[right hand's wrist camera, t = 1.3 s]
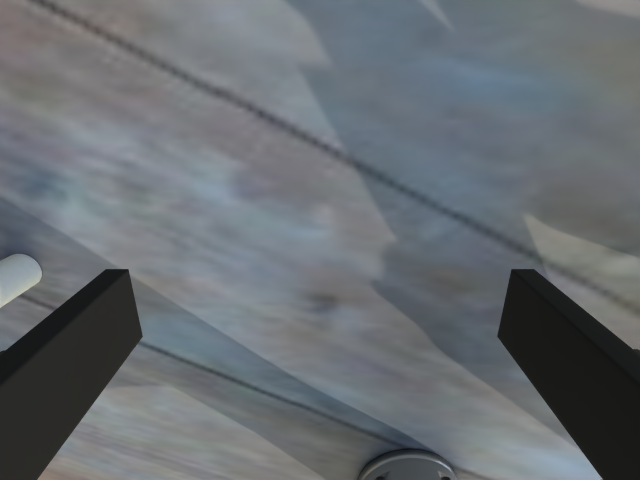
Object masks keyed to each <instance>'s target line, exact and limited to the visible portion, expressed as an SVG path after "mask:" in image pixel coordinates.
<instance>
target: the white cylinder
mask: <svg viewBox="0 0 640 480" xmlns="http://www.w3.org/2000/svg"><path fill="white" fill-rule="evenodd" d="M41 277H42V270H41V268H40V266H39V264H38V263H37V262H36V261H35V260H34V259H33V258H31V257H29V256H27V255H24V254H13V255H11V256H9V257H7V258H5V259H3V260H1V261H0V308H1V307H2V306H4V305H5V304H7V303H8V302H10V301H11V300H13V299H14V298H16V297H17V296H19V295H20V294H22V293H23V292H25V291H26V290H28V289H29V288H31V287H32V286H34V285H35V284H37V283H38V282H39V281H40V280H41Z"/></svg>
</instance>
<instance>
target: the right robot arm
mask: <svg viewBox="0 0 640 480" xmlns="http://www.w3.org/2000/svg"><path fill="white" fill-rule="evenodd" d="M142 337H143V336H142V331H141V326H140V322H139V317H138V312H137V308H136V303H135V298H134V293H133V289H132V284H131V279H130V275H129V270H128V269H106V270H105V271H103V272H102V273H101V274H100V275H98V276H97V277H96V278H95V279H93V280H92V281H91V282H90V283H88V284H87V285H86V286H85V287H84V288H82V289H81V290H80V291H79V292H77V293H76V294H75V295H74V296H72V297H71V298H70V299H69V300H67V301H66V302H65V303H64V304H63V305H61V306H60V307H59V308H58V309H56V310H55V311H54V312H53V313H51V314H50V315H49V316H48V317H46V318H45V319H44V320H43V321H42V322H40V323H39V324H38V325H37V326H35V327H34V328H33V329H32V330H30V331H29V332H28V333H27V334H26V335H24V336H23V337H22V338H21V339H19V340H18V341H17V342H16V343H14V344H13V345H12V346H11V347H9V348H8V349H7V350H6V351H1V352H0V480H37V479H38V478H39V476H40V475H41V474H42V472H43V471H44V470H45V468H46V467H47V465H48V464H49V463H50V461H51V460H52V459H53V457H54V456H55V455H56V453H57V452H58V451H59V449H60V448H61V446H62V445H63V444H64V442H65V441H66V440H67V438H68V437H69V436H70V434H71V433H72V432H73V430H74V429H75V427H76V426H77V425H78V423H79V422H80V421H81V419H82V418H83V417H84V415H85V414H86V413H87V411H88V410H89V408H90V407H91V406H92V404H93V403H94V402H95V400H96V399H97V398H98V396H99V395H100V394H101V392H102V391H103V390H104V388H105V387H106V385H107V384H108V383H109V381H110V380H111V379H112V377H113V376H114V375H115V373H116V372H117V371H118V369H119V368H120V366H121V365H122V364H123V362H124V361H125V360H126V358H127V357H128V356H129V354H130V353H131V352H132V350H133V349H134V347H135V346H136V345H137V343H138V342H139V341H140V339H141V338H142ZM497 337H498V338H499V339H500V341H501V342H502V343H503V345H504V346H505V347H506V349H507V350H508V352H509V353H510V354H511V356H512V357H513V358H514V360H515V361H516V362H517V364H518V365H519V366H520V368H521V369H522V371H523V372H524V373H525V375H526V376H527V377H528V379H529V380H530V381H531V383H532V384H533V385H534V387H535V388H536V390H537V391H538V392H539V394H540V395H541V396H542V398H543V399H544V400H545V402H546V403H547V404H548V406H549V407H550V408H551V410H552V411H553V413H554V414H555V415H556V417H557V418H558V419H559V421H560V422H561V423H562V425H563V426H564V427H565V429H566V430H567V432H568V433H569V434H570V436H571V437H572V438H573V440H574V441H575V442H576V444H577V445H578V446H579V448H580V449H581V451H582V452H583V453H584V455H585V456H586V457H587V459H588V460H589V461H590V463H591V464H592V465H593V467H594V468H595V470H596V471H597V472H598V474H599V475H600V476H601V478H602V479H603V480H640V350H638V349H632V348H631V347H629V346H628V345H627V344H626V343H624V342H623V341H622V340H621V339H619V338H618V337H617V336H616V335H614V334H613V333H612V332H611V331H610V330H608V329H607V328H606V327H605V326H603V325H602V324H601V323H600V322H598V321H597V320H596V319H595V318H594V317H592V316H591V315H590V314H589V313H587V312H586V311H585V310H584V309H582V308H581V307H580V306H579V305H577V304H576V303H575V302H574V301H573V300H571V299H570V298H569V297H568V296H566V295H565V294H564V293H563V292H561V291H560V290H559V289H558V288H556V287H555V286H554V285H553V284H552V283H550V282H549V281H548V280H547V279H545V278H544V277H543V276H542V275H540V274H539V273H538V272H537V271H535V270H534V269H512V270H511V275H510V279H509V284H508V289H507V293H506V298H505V303H504V308H503V312H502V317H501V322H500V326H499V331H498V336H497ZM358 480H457V478H456V475H455V472H454V470H453V468H452V467H451V465H450V464H449V463H448V462H447V461H446V460H444V459H443V458H442V457H440V456H438V455H436V454H434V453H431V452H427V451H423V450H412V449H409V450H399V451H394V452H390V453H387V454H384V455H382V456H380V457H378V458H376V459H374V460H373V461H372V462H370V463H369V464H368V465H367V466H366V467H365V468H364V469H363V470H362V472H361V474H360V475H359V478H358Z"/></svg>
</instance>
